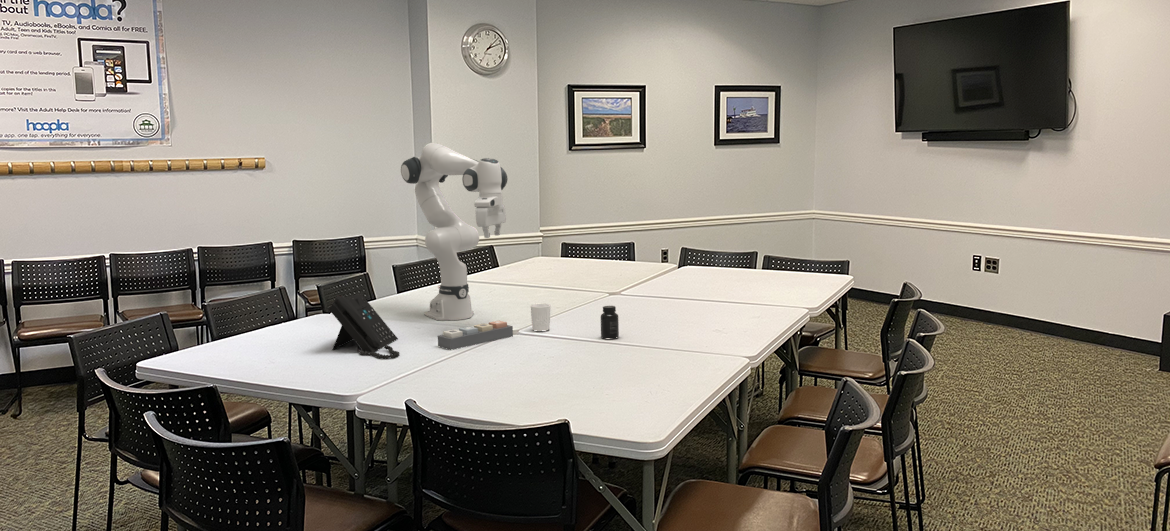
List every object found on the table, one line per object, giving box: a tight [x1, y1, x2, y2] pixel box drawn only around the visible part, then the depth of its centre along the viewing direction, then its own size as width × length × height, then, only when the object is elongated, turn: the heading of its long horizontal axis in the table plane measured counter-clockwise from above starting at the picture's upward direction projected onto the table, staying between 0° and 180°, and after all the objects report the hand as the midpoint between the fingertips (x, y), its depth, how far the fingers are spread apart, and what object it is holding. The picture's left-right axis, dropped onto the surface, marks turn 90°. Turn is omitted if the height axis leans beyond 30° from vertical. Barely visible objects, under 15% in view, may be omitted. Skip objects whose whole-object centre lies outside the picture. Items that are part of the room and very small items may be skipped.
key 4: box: [488, 320, 508, 329], centre depth 322 cm, size 5×5×3 cm
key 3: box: [473, 323, 493, 332], centre depth 317 cm, size 5×5×3 cm
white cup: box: [530, 303, 552, 331], centre depth 332 cm, size 8×8×10 cm
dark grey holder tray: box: [437, 324, 514, 351], centre depth 315 cm, size 8×29×4 cm, turn 135°
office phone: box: [328, 292, 400, 360], centre depth 305 cm, size 29×28×20 cm
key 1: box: [442, 329, 463, 338], centre depth 308 cm, size 5×5×3 cm
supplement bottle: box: [600, 305, 620, 339], centre depth 318 cm, size 7×7×12 cm
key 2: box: [458, 325, 478, 335], centre depth 313 cm, size 5×5×3 cm
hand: (492, 236), depth 326 cm, fingers open, 8 cm apart
